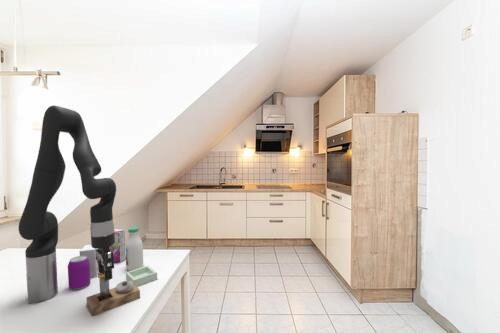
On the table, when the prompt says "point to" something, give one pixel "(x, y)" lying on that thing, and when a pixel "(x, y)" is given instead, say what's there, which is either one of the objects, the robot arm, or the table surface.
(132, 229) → the milk bottle
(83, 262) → the beverage can
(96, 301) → the block
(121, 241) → the candy bar box
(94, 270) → the small box
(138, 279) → the tray
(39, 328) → the table surface
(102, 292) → the pin
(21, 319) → the table surface
